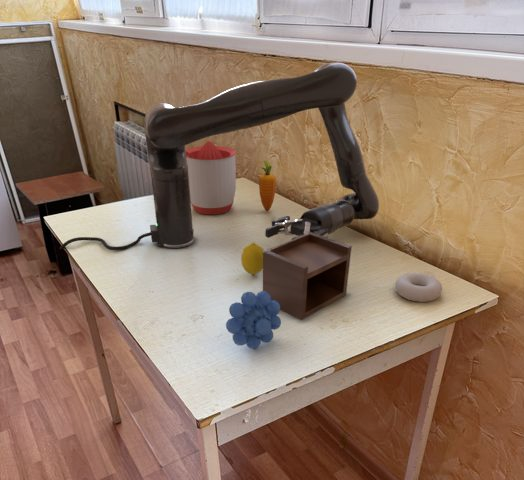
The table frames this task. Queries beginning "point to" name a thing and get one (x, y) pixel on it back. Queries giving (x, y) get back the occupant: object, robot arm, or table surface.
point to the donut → (418, 287)
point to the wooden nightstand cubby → (306, 273)
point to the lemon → (252, 258)
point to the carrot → (267, 187)
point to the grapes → (253, 319)
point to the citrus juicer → (211, 178)
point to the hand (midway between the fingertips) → (279, 238)
